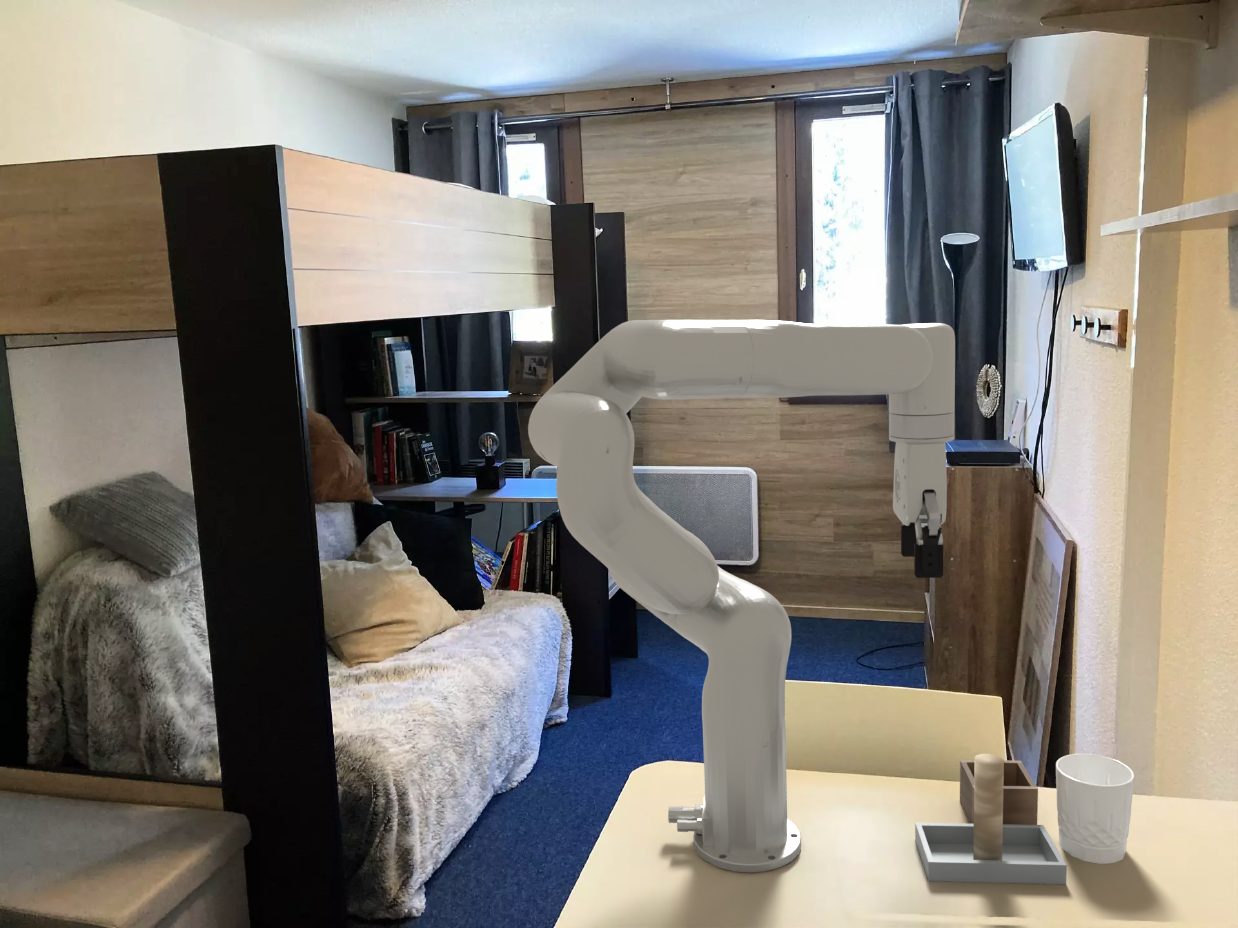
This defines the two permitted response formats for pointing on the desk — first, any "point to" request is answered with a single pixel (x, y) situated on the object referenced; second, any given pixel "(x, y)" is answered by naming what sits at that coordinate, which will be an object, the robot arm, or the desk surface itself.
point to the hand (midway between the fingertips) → (921, 566)
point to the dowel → (988, 807)
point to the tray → (1022, 860)
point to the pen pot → (1004, 793)
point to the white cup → (1093, 806)
